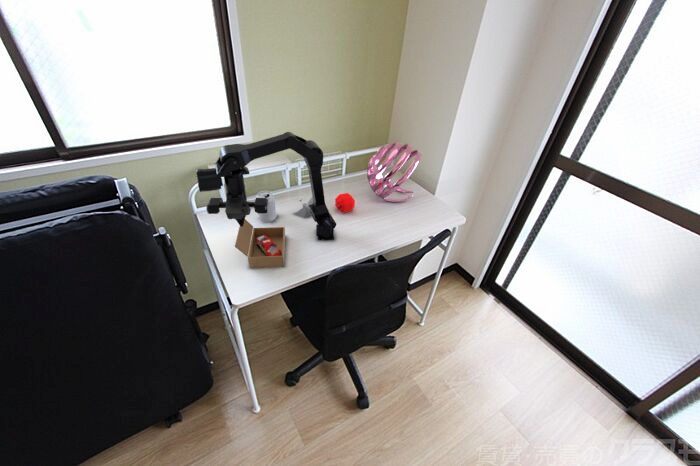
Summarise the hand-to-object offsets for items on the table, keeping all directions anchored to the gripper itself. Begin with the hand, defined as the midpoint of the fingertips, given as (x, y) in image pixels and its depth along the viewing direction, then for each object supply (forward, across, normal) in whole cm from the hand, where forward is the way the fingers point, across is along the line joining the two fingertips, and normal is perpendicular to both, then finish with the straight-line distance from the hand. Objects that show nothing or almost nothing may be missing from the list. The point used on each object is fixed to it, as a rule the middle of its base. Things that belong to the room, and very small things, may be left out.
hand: (242, 225), depth 106 cm
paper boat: (+12, +23, +26) cm, 37 cm away
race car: (+12, +8, 0) cm, 15 cm away
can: (+12, +6, +22) cm, 26 cm away
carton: (+12, +8, 0) cm, 15 cm away
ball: (+12, +40, +27) cm, 50 cm away
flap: (+4, 0, 0) cm, 5 cm away
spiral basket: (+11, +64, +40) cm, 76 cm away
